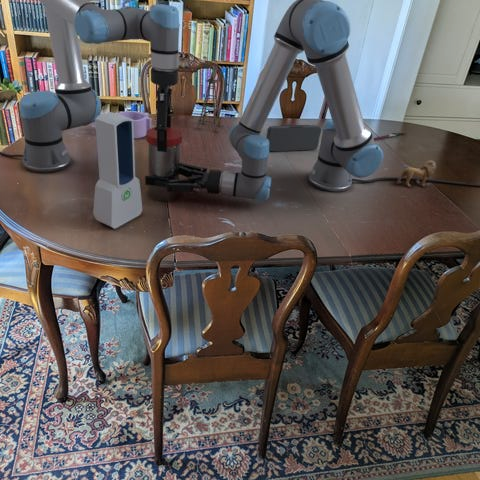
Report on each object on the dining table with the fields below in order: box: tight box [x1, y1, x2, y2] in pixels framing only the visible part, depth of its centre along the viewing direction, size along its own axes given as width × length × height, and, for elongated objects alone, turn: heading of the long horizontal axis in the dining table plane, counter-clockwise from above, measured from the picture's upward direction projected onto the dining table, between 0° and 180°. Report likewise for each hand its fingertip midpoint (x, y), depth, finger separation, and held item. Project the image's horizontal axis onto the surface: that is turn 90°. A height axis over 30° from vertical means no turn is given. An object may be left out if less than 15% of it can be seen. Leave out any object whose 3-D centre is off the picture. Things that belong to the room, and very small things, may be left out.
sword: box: [373, 132, 408, 141], centre depth 213 cm, size 31×3×1 cm, turn 126°
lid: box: [145, 127, 183, 147], centre depth 139 cm, size 10×10×2 cm
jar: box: [148, 143, 181, 202], centre depth 144 cm, size 9×9×20 cm
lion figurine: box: [396, 159, 436, 188], centre depth 171 cm, size 15×5×9 cm, turn 110°
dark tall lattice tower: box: [196, 56, 221, 133], centre depth 196 cm, size 9×8×30 cm
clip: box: [100, 110, 153, 139], centre depth 188 cm, size 20×12×7 cm, turn 109°
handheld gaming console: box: [265, 124, 322, 152], centre depth 189 cm, size 23×3×10 cm, turn 108°
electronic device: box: [92, 111, 143, 230], centre depth 126 cm, size 12×8×30 cm, turn 148°
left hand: (164, 143), depth 140 cm, fingers open, 11 cm apart
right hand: (150, 173), depth 146 cm, fingers closed on jar, 9 cm apart
